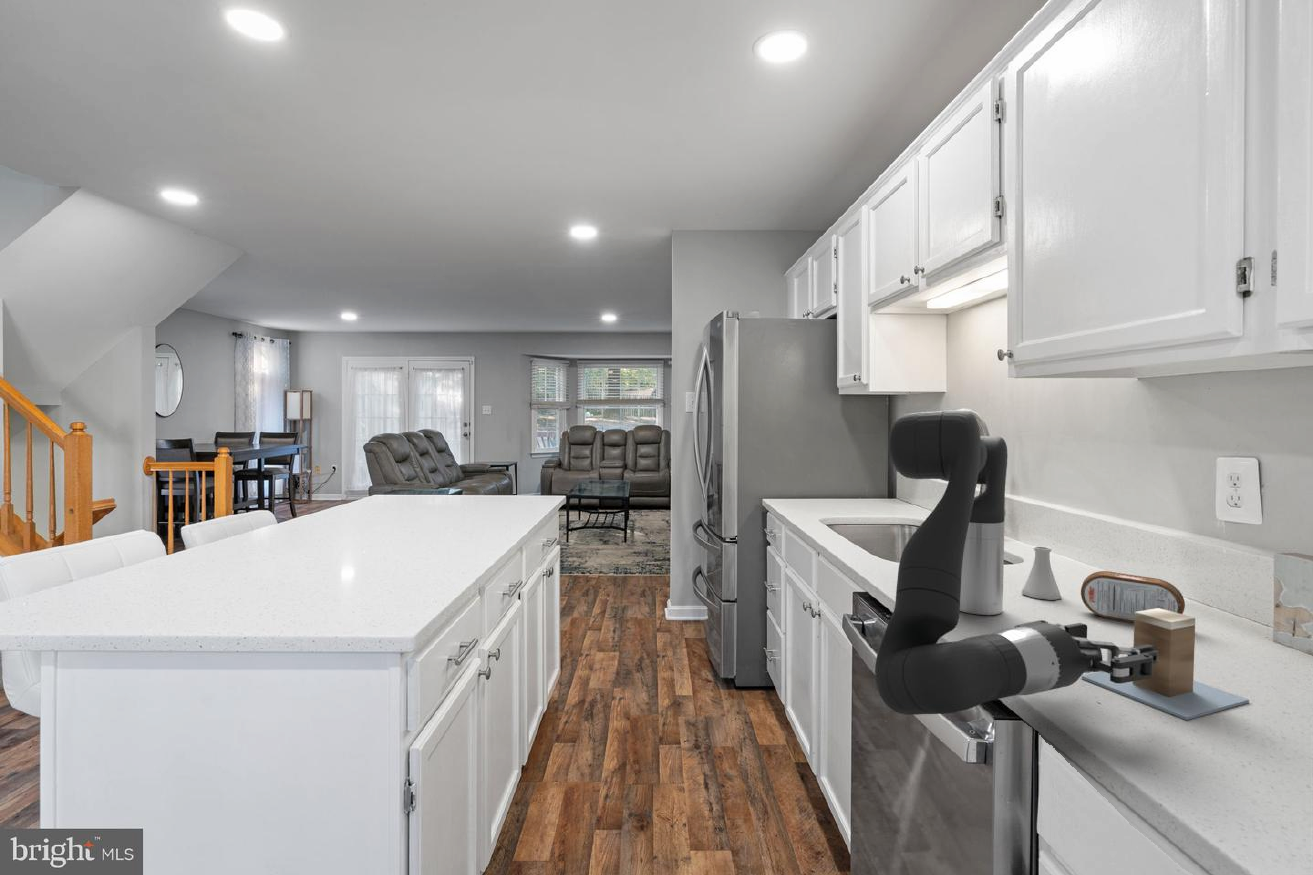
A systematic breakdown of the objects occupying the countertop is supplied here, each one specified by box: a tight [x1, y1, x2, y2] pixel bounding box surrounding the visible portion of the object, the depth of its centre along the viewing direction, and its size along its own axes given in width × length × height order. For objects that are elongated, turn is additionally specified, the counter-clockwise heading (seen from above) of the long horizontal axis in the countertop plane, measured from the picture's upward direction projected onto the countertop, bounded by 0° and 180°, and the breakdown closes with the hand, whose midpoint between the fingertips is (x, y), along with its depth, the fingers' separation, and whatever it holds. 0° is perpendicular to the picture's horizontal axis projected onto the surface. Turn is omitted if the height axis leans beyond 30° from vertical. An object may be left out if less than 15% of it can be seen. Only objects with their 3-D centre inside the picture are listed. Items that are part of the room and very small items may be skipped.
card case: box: [1132, 608, 1196, 697], centre depth 86 cm, size 4×5×10 cm
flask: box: [1021, 545, 1062, 601], centre depth 130 cm, size 7×7×10 cm
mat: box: [1081, 672, 1250, 721], centre depth 86 cm, size 13×13×1 cm
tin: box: [1080, 570, 1186, 624], centre depth 114 cm, size 15×3×8 cm, turn 48°
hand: (1117, 641), depth 82 cm, fingers open, 8 cm apart
